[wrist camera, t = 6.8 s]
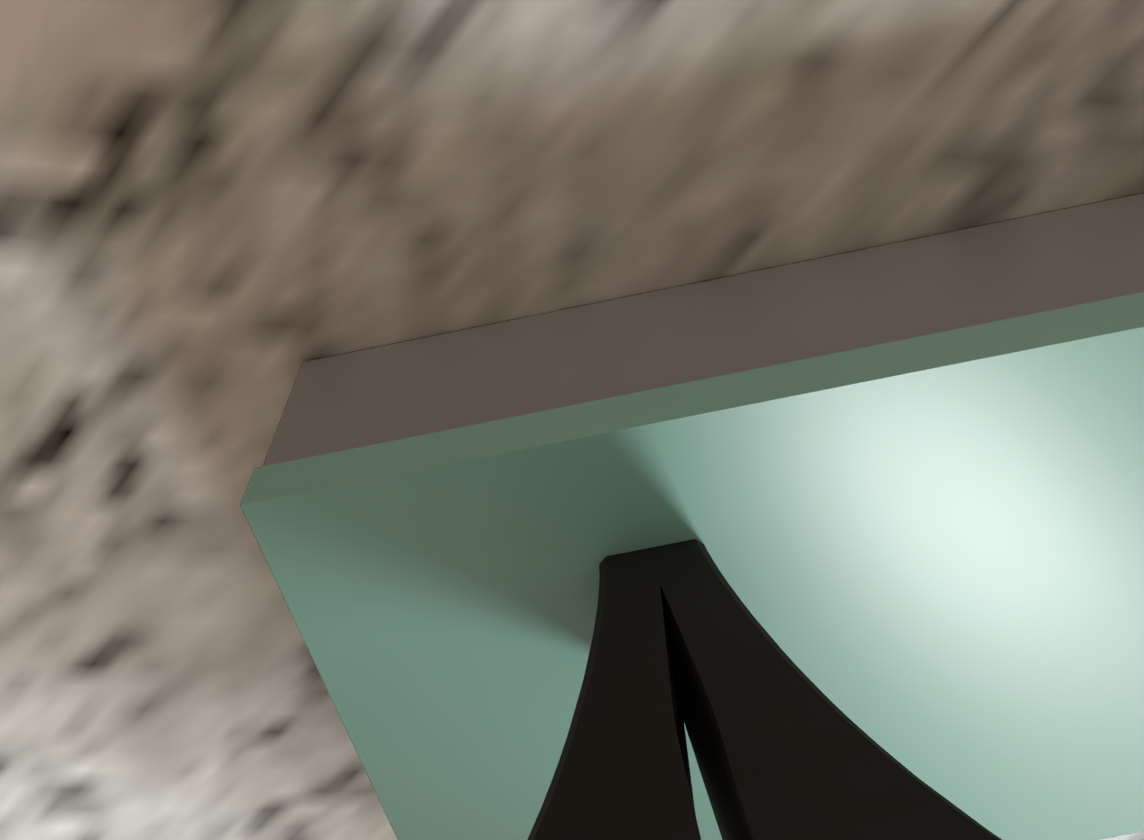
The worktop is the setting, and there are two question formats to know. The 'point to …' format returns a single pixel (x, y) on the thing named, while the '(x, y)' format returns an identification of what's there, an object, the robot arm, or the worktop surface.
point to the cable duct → (715, 328)
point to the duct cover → (758, 569)
